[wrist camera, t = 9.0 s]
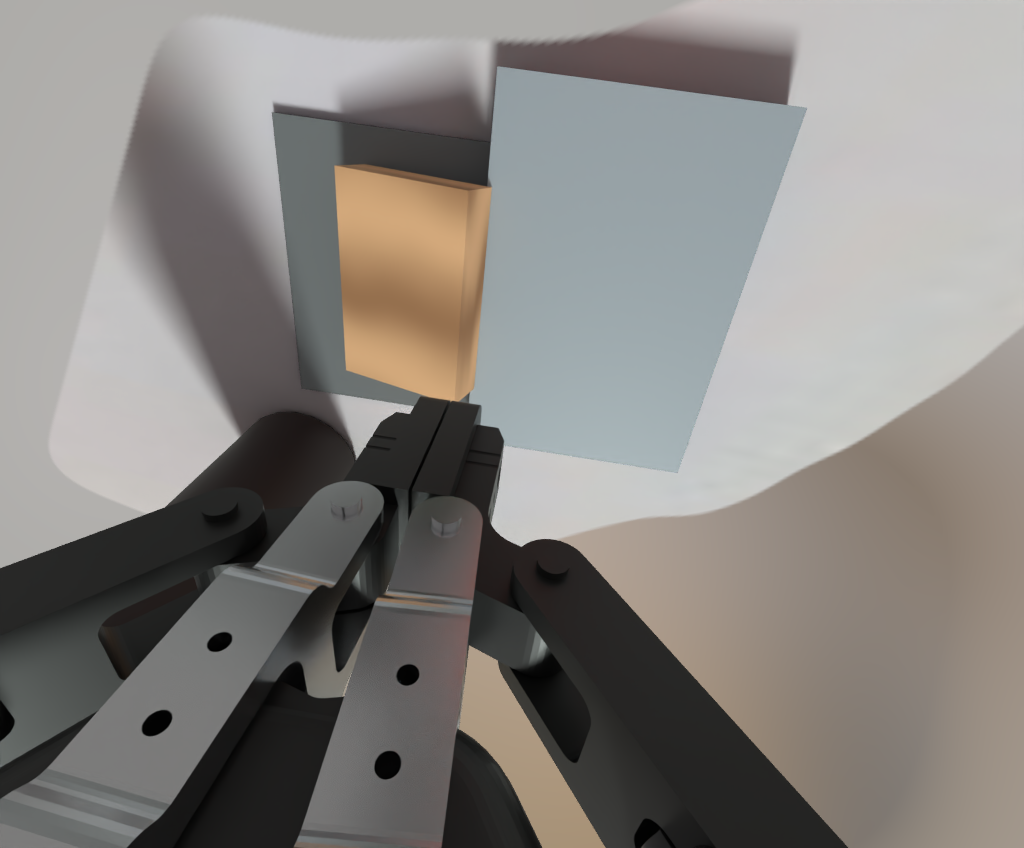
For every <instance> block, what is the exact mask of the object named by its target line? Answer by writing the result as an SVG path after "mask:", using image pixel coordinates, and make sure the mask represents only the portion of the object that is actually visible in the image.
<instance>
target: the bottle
mask: <svg viewBox="0 0 1024 848" xmlns="http://www.w3.org/2000/svg"><path fill="white" fill-rule="evenodd" d="M354 463H355V461H354V457H353V453H352V452H351V450H350V449H349V447H348V446H347V444H346V442H345V441H344V439H343V438H342V437H341V436H340V435H338V434H337V433H336V432H335V431H334V430H333V429H332V428H331V427H330V426H328V425H326V424H324V423H323V422H321V421H319V420H317V419H315V418H314V417H311V416H307V415H303V414H300V413H296V412H278V413H275V414H272V415H269V416H266V417H263V418H261V419H260V420H258V421H257V422H256V423H255V424H254V425H253V426H252V427H251V428H249V429H248V430H247V431H246V432H245V433H244V434H243V435H242V436H241V437H240V438H239V439H238V440H237V441H236V442H234V443H233V444H232V445H231V446H230V447H229V448H228V449H227V450H226V451H225V452H224V453H223V454H222V455H221V456H219V457H218V458H217V459H216V460H215V461H214V462H213V463H212V464H211V465H210V466H209V467H208V468H207V469H206V470H205V471H203V472H202V473H201V474H200V475H199V476H198V477H197V478H196V479H195V480H194V481H193V482H192V483H191V484H190V485H188V486H187V487H186V488H185V489H184V490H183V491H182V492H181V493H180V494H179V495H178V496H177V497H176V498H175V499H173V500H172V501H171V502H170V503H169V504H168V505H167V506H166V507H168V506H170V505H173V504H176V503H179V502H181V501H184V500H187V499H189V498H192V497H195V496H197V495H200V494H203V493H206V492H209V491H212V490H215V489H220V488H227V487H239V488H245V489H249V490H252V491H254V492H255V493H257V494H258V495H259V496H260V497H261V499H262V501H263V505H264V509H278V508H292V507H302V506H305V505H306V504H307V503H308V501H309V500H310V499H311V498H312V497H313V496H314V495H315V493H316V492H318V491H319V490H321V489H322V488H324V487H326V486H328V485H331V484H334V483H337V482H343V481H344V479H345V477H346V476H347V474H348V473H349V471H350V470H351V468H352V467H353V465H354ZM196 589H198V588H197V585H196V582H195V579H194V577H192V578H189V579H187V580H185V581H183V582H181V583H179V584H176V585H174V586H172V587H170V588H168V589H166V590H163V591H161V592H159V593H157V594H155V595H153V596H150V597H148V598H146V599H144V600H142V601H140V602H137V603H135V604H133V605H131V606H129V607H127V608H124V609H122V610H120V611H118V612H116V613H114V614H113V615H111V616H110V617H109V618H108V619H106V620H105V621H104V622H103V624H102V625H101V626H104V627H115V626H119V625H122V624H125V623H127V622H129V621H131V620H133V619H135V618H137V617H140V616H142V615H144V614H146V613H148V612H150V611H152V610H154V609H156V608H158V607H161V606H163V605H165V604H167V603H169V602H171V601H173V600H175V599H177V598H179V597H181V596H184V595H186V594H188V593H190V592H192V591H194V590H196Z"/></svg>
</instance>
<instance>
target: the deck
mask: <svg viewBox="0 0 1024 848" xmlns="http://www.w3.org/2000/svg"><path fill="white" fill-rule="evenodd" d="M806 110H807V108H804V107H797V106H789V105H782V104H774V103H767V102H760V101H752V100H745V99H737V98H730V97H722V96H715V95H708V94H700V93H693V92H685V91H678V90H670V89H663V88H655V87H648V86H641V85H633V84H626V83H618V82H611V81H603V80H596V79H589V78H581V77H574V76H566V75H559V74H551V73H544V72H537V71H529V70H522V69H514V68H507V67H499V66H497V76H496V88H495V100H494V112H493V124H492V135H491V147H490V159H489V171H488V183H487V187H492V191H491V202H490V214H489V225H488V236H487V248H486V259H485V270H484V282H483V293H482V304H481V316H480V327H479V339H478V350H477V361H476V373H475V384H474V389H473V390H472V391H471V392H470V397H469V403H471V404H478V405H481V406H482V412H481V423H480V425H483V426H490V427H496V428H499V430H500V432H501V435H502V437H503V439H504V446H510V447H516V448H522V449H529V450H535V451H541V452H548V453H554V454H560V455H567V456H573V457H579V458H585V459H592V460H598V461H604V462H611V463H617V464H623V465H629V466H636V467H642V468H648V469H655V470H661V471H667V472H673V473H678V470H679V467H680V464H681V462H682V459H683V456H684V453H685V450H686V448H687V445H688V442H689V439H690V436H691V433H692V431H693V428H694V425H695V422H696V419H697V417H698V414H699V411H700V408H701V405H702V403H703V400H704V397H705V394H706V391H707V388H708V386H709V383H710V380H711V377H712V374H713V372H714V369H715V366H716V363H717V360H718V358H719V355H720V352H721V349H722V346H723V343H724V341H725V338H726V335H727V332H728V329H729V327H730V324H731V321H732V318H733V315H734V312H735V310H736V307H737V304H738V301H739V298H740V296H741V293H742V290H743V287H744V284H745V282H746V279H747V276H748V273H749V270H750V267H751V265H752V262H753V259H754V256H755V253H756V251H757V248H758V245H759V242H760V239H761V237H762V234H763V231H764V228H765V225H766V222H767V220H768V217H769V214H770V211H771V208H772V206H773V203H774V200H775V197H776V194H777V191H778V189H779V186H780V183H781V180H782V177H783V175H784V172H785V169H786V166H787V163H788V161H789V158H790V155H791V152H792V149H793V146H794V144H795V141H796V138H797V135H798V132H799V130H800V127H801V124H802V121H803V118H804V116H805V113H806Z"/></svg>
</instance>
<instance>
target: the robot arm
mask: <svg viewBox="0 0 1024 848" xmlns="http://www.w3.org/2000/svg"><path fill="white" fill-rule="evenodd" d="M481 412H482V406H481V405H478V404H471V403H465V402H458V401H450V400H445V399H438V398H432V397H425V396H420V397H419V399H418V401H417V403H416V404H415V406H414V408H413V410H412V412H411V413H410V414H405V413H399V412H396V413H394V414H393V415H391V416H390V417H388V418H386V419H385V420H383V421H382V422H381V423H380V424H379V426H378V428H377V429H376V431H375V432H374V434H373V437H371V438H370V440H369V442H368V443H367V445H366V448H364V449H363V451H362V452H361V454H360V456H359V457H358V459H357V460H356V462H355V463H354V465H353V467H352V468H351V470H350V471H349V473H348V474H347V476H346V477H345V479H344V481H343V482H337V483H334V484H331V485H328V486H326V487H324V488H322V489H321V490H319V491H318V492H316V493H315V495H314V496H313V497H312V498H311V499H310V500H309V501H308V503H307V504H306V505H305V506H302V507H292V508H278V509H264V505H263V501H262V499H261V497H260V496H259V495H258V494H257V493H255V492H254V491H252V490H249V489H245V488H239V487H227V488H220V489H215V490H212V491H209V492H206V493H203V494H200V495H197V496H195V497H192V498H189V499H187V500H184V501H181V502H179V503H176V504H173V505H170V506H168V507H165V508H162V509H160V510H157V511H154V512H151V513H149V514H146V515H143V516H141V517H138V518H135V519H133V520H130V521H127V522H124V523H122V524H119V525H116V526H114V527H111V528H108V529H106V530H103V531H100V532H97V533H95V534H92V535H89V536H87V537H84V538H81V539H79V540H76V541H73V542H70V543H68V544H65V545H62V546H59V547H57V548H55V549H51V550H49V551H46V552H43V553H41V554H38V555H35V556H33V557H30V558H27V559H24V560H22V561H19V562H16V563H14V564H11V565H8V566H6V567H3V568H0V848H542V846H541V845H540V842H539V840H538V838H537V836H536V834H535V832H534V830H533V828H532V826H531V824H530V821H529V819H528V817H527V815H526V813H525V811H524V809H523V807H522V805H521V803H520V801H519V799H518V796H517V795H516V792H515V790H514V788H513V787H512V785H511V783H510V781H509V779H508V778H507V776H506V775H505V773H504V772H503V770H502V769H501V767H500V766H499V764H498V763H497V762H496V761H495V760H494V759H493V757H492V756H491V755H490V754H489V753H488V752H487V751H486V749H484V748H483V747H482V746H481V745H480V744H479V743H478V742H477V741H475V740H474V739H473V738H472V737H470V736H469V735H467V734H466V733H464V732H463V731H461V730H459V725H460V716H461V708H462V699H463V690H464V683H465V674H466V667H467V658H468V650H469V645H470V646H472V647H474V648H476V649H478V650H480V651H481V652H483V653H485V654H487V655H489V656H491V657H492V658H494V659H496V660H498V664H499V669H500V672H501V674H502V676H503V678H504V679H505V681H506V682H507V684H508V686H509V688H510V689H511V691H512V693H513V694H514V696H515V698H516V699H517V701H518V703H519V704H520V706H521V707H522V709H523V711H524V713H525V714H526V716H527V718H528V719H529V721H530V723H531V724H532V726H533V728H534V729H535V731H536V732H537V734H538V736H539V737H540V739H541V741H542V742H543V744H544V746H545V747H546V749H547V751H548V752H549V754H550V756H551V757H552V759H553V761H554V762H555V764H556V766H557V767H558V769H559V771H560V772H561V774H562V775H563V777H564V779H565V781H566V782H567V784H568V786H569V787H570V789H571V790H572V792H573V794H574V796H575V797H576V799H577V801H578V802H579V804H580V806H581V807H582V809H583V811H584V812H585V814H586V816H587V817H588V819H589V821H590V822H591V824H592V826H593V827H594V829H595V831H596V832H597V834H598V836H599V837H600V839H601V841H602V842H603V844H604V846H605V847H606V848H848V847H847V846H846V845H845V844H844V843H843V841H842V840H841V839H840V838H839V837H838V836H837V835H836V834H835V833H834V832H833V831H832V829H831V828H830V827H829V826H828V825H827V824H826V823H825V822H824V820H822V818H821V817H820V816H819V815H818V814H817V813H816V812H815V811H814V810H813V808H812V807H811V806H810V805H809V804H808V803H807V802H806V801H805V800H804V798H803V797H802V796H801V795H800V794H799V793H798V792H797V791H796V790H795V788H794V787H793V786H792V785H791V784H790V783H789V782H788V781H787V780H786V779H785V777H784V776H783V775H782V774H781V773H780V772H779V771H778V770H777V769H776V768H775V767H774V765H773V764H772V763H771V762H770V761H769V760H768V759H767V758H766V756H765V755H764V754H763V753H762V752H761V751H760V750H759V749H758V748H757V747H756V746H755V744H754V743H753V742H752V741H751V740H750V739H749V738H748V737H747V736H746V734H745V733H744V732H743V731H742V730H741V729H740V728H739V727H738V726H737V724H736V723H735V722H734V721H733V720H732V719H731V718H730V717H729V716H728V715H727V713H726V712H725V711H724V710H723V709H722V708H721V707H720V706H719V705H718V703H717V702H716V701H715V700H714V699H713V698H712V697H711V696H710V695H709V694H708V692H707V691H706V690H705V689H704V688H703V687H702V686H701V685H700V684H699V683H698V681H697V680H696V679H695V678H694V677H693V676H692V675H691V674H690V673H689V672H688V670H687V669H686V668H685V667H684V666H683V665H682V664H681V663H680V662H679V661H678V659H677V658H676V657H675V656H674V655H673V654H672V653H671V652H670V651H669V650H668V649H667V647H666V646H665V645H664V644H663V643H662V642H661V641H660V640H659V639H658V637H657V636H656V635H655V634H654V633H653V632H652V631H651V630H650V628H649V627H648V626H647V625H646V624H645V623H644V622H643V621H642V620H641V619H640V618H639V616H638V615H637V614H636V613H635V612H634V611H633V610H632V609H631V607H630V606H629V605H628V604H627V603H626V602H625V601H624V600H623V599H622V598H621V596H620V595H619V594H618V593H617V592H616V591H615V590H614V589H613V588H612V587H611V585H609V583H608V582H607V581H606V580H605V579H604V578H603V577H602V576H601V574H600V573H599V572H598V571H597V570H596V569H595V568H594V567H593V566H592V564H591V563H590V562H589V561H588V560H587V559H586V558H585V557H584V556H583V555H582V554H581V553H580V552H579V551H578V550H577V549H575V548H574V547H572V546H571V545H569V544H566V543H564V542H561V541H557V540H551V539H540V540H535V541H531V542H529V543H527V544H525V545H524V546H522V547H520V546H518V545H516V544H513V543H511V542H509V541H508V540H506V539H504V538H503V537H501V536H500V535H499V534H498V533H497V532H496V531H495V530H494V528H493V527H492V525H491V521H492V516H493V512H494V507H495V502H496V498H497V493H498V488H499V480H500V472H501V464H502V456H503V448H504V439H503V437H502V435H501V432H500V430H499V428H496V427H490V426H483V425H480V423H481ZM192 577H194V579H195V582H196V585H197V588H198V589H196V590H194V591H192V592H190V593H188V594H186V595H184V596H181V597H179V598H177V599H175V600H173V601H171V602H169V603H167V604H165V605H163V606H161V607H158V608H156V609H154V610H152V611H150V612H148V613H146V614H144V615H142V616H140V617H137V618H135V619H133V620H131V621H129V622H127V623H125V624H122V625H119V626H115V627H104V626H101V625H102V624H103V622H104V621H105V620H106V619H108V618H109V617H110V616H111V615H113V614H114V613H116V612H118V611H120V610H122V609H124V608H127V607H129V606H131V605H133V604H135V603H137V602H140V601H142V600H144V599H146V598H148V597H150V596H153V595H155V594H157V593H159V592H161V591H163V590H166V589H168V588H170V587H172V586H174V585H176V584H179V583H181V582H183V581H185V580H187V579H189V578H192ZM388 585H389V586H388ZM387 588H388V590H387ZM386 590H387V591H386ZM351 673H352V674H351ZM350 675H351V677H350ZM349 677H350V680H349V683H348V686H347V690H346V693H345V696H344V697H342V695H343V692H344V689H345V686H346V684H347V681H348V679H349Z"/></svg>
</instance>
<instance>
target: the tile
mask: <svg viewBox="0 0 1024 848" xmlns="http://www.w3.org/2000/svg"><path fill="white" fill-rule="evenodd" d="M334 167H335V185H336V202H337V220H338V238H339V255H340V273H341V290H342V308H343V325H344V343H345V360H346V370H347V371H350V372H353V373H356V374H360V375H363V376H366V377H369V378H372V379H375V380H378V381H381V382H384V383H387V384H390V385H393V386H396V387H400V388H403V389H406V390H409V391H412V392H415V393H418V394H421V395H424V396H427V397H432V398H438V399H445V400H450V401H458V402H459V401H460V400H461V399H462V398H463V397H465V396H466V395H467V394H468V393H469V392H471V391H472V390H473V389H474V384H475V373H476V361H477V350H478V339H479V327H480V316H481V304H482V293H483V282H484V270H485V259H486V248H487V236H488V225H489V214H490V202H491V191H492V187H487V186H482V185H476V184H471V183H465V182H460V181H454V180H449V179H444V178H438V177H433V176H427V175H422V174H416V173H411V172H405V171H400V170H395V169H389V168H384V167H378V166H373V165H367V164H359V165H335V166H334Z"/></svg>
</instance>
